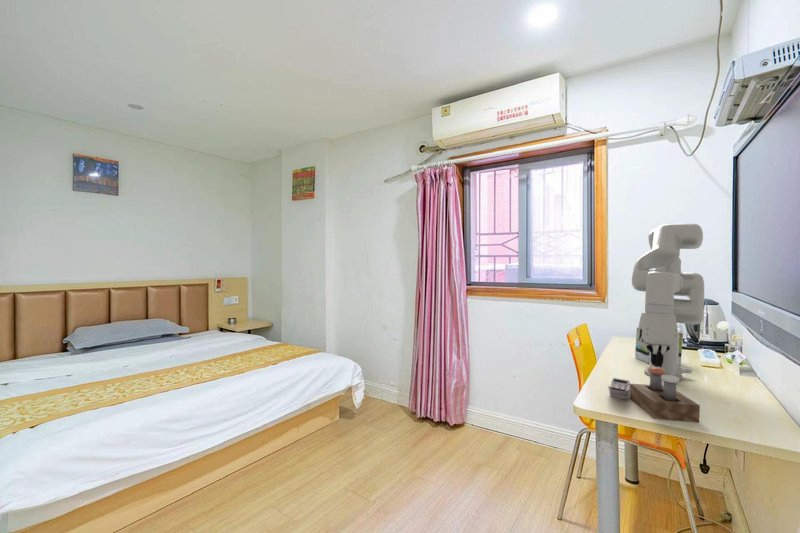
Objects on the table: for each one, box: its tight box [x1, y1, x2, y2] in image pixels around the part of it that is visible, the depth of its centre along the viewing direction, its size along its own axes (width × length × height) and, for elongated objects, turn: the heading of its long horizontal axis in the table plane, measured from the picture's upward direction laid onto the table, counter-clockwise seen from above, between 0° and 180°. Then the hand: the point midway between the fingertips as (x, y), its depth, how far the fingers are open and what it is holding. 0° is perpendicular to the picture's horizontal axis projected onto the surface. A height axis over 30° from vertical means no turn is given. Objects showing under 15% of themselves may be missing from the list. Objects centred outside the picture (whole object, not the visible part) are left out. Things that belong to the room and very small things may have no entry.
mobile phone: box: [608, 377, 631, 400], centre depth 129 cm, size 6×6×25 cm
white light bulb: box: [661, 374, 680, 401], centre depth 112 cm, size 4×4×7 cm
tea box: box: [634, 327, 684, 365], centre depth 171 cm, size 15×10×15 cm
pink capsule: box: [647, 367, 665, 392], centre depth 120 cm, size 4×4×7 cm
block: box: [629, 383, 701, 423], centre depth 116 cm, size 12×16×5 cm
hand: (656, 365), depth 120 cm, fingers closed
